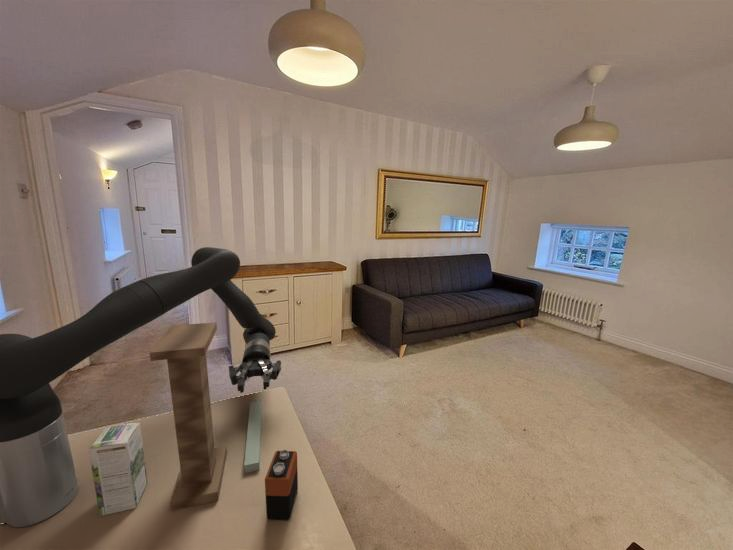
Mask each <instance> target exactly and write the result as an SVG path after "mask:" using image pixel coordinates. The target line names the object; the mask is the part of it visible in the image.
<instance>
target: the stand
mask: <svg viewBox="0 0 733 550" xmlns="http://www.w3.org/2000/svg"><path fill="white" fill-rule="evenodd" d="M217 330H218V327H217V322H203V323H202V322H201V323H190V324H189V323H188V324H187V323H186V324H176V325H175V324H174V325H171V326H170V327H169V329H168V330H167V332H166V333H165V334H164V335H163V336H162V337H161V339H160V340H159V341H158V342H157V343H156V344H155V346H153V348H152V349H151V351H149V358H150V360H149V361H150V362H154V361H155V362H156V361H165V360H166V362H167V364H166V365H167V369H168V370H167V371H168V372H167V373H168V378H169V385H170V387H169V388H170V394H171V395H170V396H171V403H172V410H173V419H174V426H175V435H176V443H177V444H176V445H177V452H178V459H179V467H180V468H179V469H180V472H179V475H178V477H177V481H176V484H175V486H174V488H173V489H174V490H173V493H172V496H171V498H170V502H169V506H170V507H169V508H170V511H171V512H173V511H174V512H175V511H177V510H182V509H186V508H191V507H195V506H199V505H203V504H208V503H212V502H217V501H219V499H220V493H221V487H222V482H223V476H224V472H225V467H226V461H227V456H228V446H227V445H220V446H216V447H215V439H214V437H215V435H214V429H213V428H214V427H213V416H212V407H211V404H212V403H211V395H210V394H211V393H210V384H209V383H210V382H209V374H208V363H207V351H208V350H209V347H210V345H211V344H212V341H213V338H214V337H215V334H216V332H217Z"/></svg>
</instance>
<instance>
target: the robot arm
mask: <svg viewBox="0 0 733 550" xmlns="http://www.w3.org/2000/svg"><path fill="white" fill-rule="evenodd" d="M190 262H191V263H190V264H191V267H188V268H184V269H180V270H175V271H170V272H165V273H159V274H156V275H151V276H148V277H145V278H142V279H140V280H136V281H134V282H132V283H129V284H127V285H125V286H123V287H120V288H119V289H116V290H115V291H113V292H111V293H109V294H108V295H106V296H105V297H103V298H102V300H100V301H99V302H97V303H96V305H94V306H93V307H92V308H91V309H90V310H89V311H87V312H86V313H85V314H84V315H82V316H80V317H79V318H77V319H76V320H73V321H72V322H70V323H68V324H65V325H63V326H61V327H58V328H56V329H54V330H51V331H49V332H46V333H43V334H40V335H39V336H36V337H31V336H28V335H25V334H20V333H0V523H8V524H7V525H9V526H10V525H11V526H10V527H12V528H24V527H29V526H33V525H35V524H38V523H41V522H43V521H46V520H47V519H48V518H50V517H52V516H54V515H56V514H57V513H58V512H60V511H61V510H63V509H64V508H65V507H66V506H68V505H69V504H70V503H71V502H72V500H74V498H75V497H76V495H77V494H78V490H79V485H78V478H77V472H76V469H75V464H74V459H73V455H72V450H71V449H72V448H71V444H70V441H69V440H70V439H69V435H68V430H67V426H66V422H65V418H64V417H65V416H64V412H63V409H62V404H61V400H60V398H59V397H58V395H57V394H56V392H55V391H54V389H53V388H52V386H51V384H50V383H51V382H53V381H55V380H56V379H58V378H59V377H60V376H62V375H64V374H65V373H67V372H68V371H70V370H71V369H73V368H74V367H76V366H77V365H78V364H80V363H81V362H83V361H85V360H86V359H88V358H89V357H90V356H92V355H94V354H95V353H97V352H98V351H100V350H101V349H102V350H103V349H104V348H105V347H107V346H109V345H111V344H112V343H114V342H117V341H118V340H119V339H120V340H121V338H124V337H125V336H127V335H128V334H130V333H132V332H134V331H136V330H139V328H141V327H143V326H145V325H147V324H149V323H151V322H153V321H154V320H156V319H159V317H162V316H163V315H164V314H166V313H168V312H169V311H171V310H173V309H175V308H176V307H178V306H181V305H183V304H184V303H186V302H188V301H189V300H191V299H192V298H194V297H196V296H198V295H200V294H202V293H204V292H206V291H209V290H210V289H211V291H213V292H214V293H215V295H216V296H217V297H218V298H219V299H220V300H221V301H222V302H223V303H224V304H225V306H226V307H227V309H228V310H229V311H230V312H231V314H232V315H233V317H234V318H235V320H236V321H237V323H238V324H239V326H240V327H241V328H243V329H245V330H244V331H243V333H242V336H243V337H242V338H243V340H244V342H245V343H246V344H245V345H246V346H245V349H244V351H243V355H242V361H241V363H240V364H239V366H236V367H235V366H234V365H229V366H228V376H229V379H230V382H231V385H232V386H235V385H236V387H237V388H236V389H237V391H238V392H239V393H241V394H242V393H244V392H245V387H246V385H245V384H246V383H247V382H248V381H250V379H251V378H253V377H260V378H261V380H263V384H262V386H263V387H262V388H263V391H264V390H265V391H266V390H267V388H269V387H270V384H271V383H270V382H271V380H273V381H276V380H278V377H279V375H280V373H281V370H282V361H281V360H276V362H272V360H271V355H272V354H271V348H270V346H271V344H270V343H271V342H270V341H271V340H273V339H274V338H275V336H276V332H277V330H276V327H275V326H274V324H273V323H272V322H271V321H270V320H269V319H267V318H266V317H265V316H264V315H262V314H261V313H260V311H259V310H258V308H257V307H256V305H255V303H254V301H253V300H252V299H251V298H250V297H249V296H248V295H247V294H246V293H245V292H244V291H243V290H242V289H240V288H239V287H238V286H237V285H236V284H235V283H234V282H233V281H232V279H233V278H234V277H236V276H237V274H238V273H239V270H240V268H241V260H240V257H239V256H238V255H237V254H236V253H235V252H234V251H232V250H229V249H227V248H218V247H213V246H212V247H210V246H206V247H200V248H199V249H197V250H195V252H194V253H193V255H192V257H191V260H190ZM270 370H271V371H270ZM239 372H240V373H239ZM237 374H238V375H237Z"/></svg>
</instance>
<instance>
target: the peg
mask: <svg viewBox="0 0 733 550" xmlns="http://www.w3.org/2000/svg"><path fill="white" fill-rule="evenodd" d="M262 413H263V403H262V400H257V401H251V402H249V413H248V423H247V424H248V425H247V432H246V433H247V434H246V443H245V444H246V445H245V453H244V462H243V465H244V466H243V468H244V474H247V473H251V472H256V471H260V470H261V469H260V467H261V443H262V441H261V439H262V419H263V418H262V416H263V414H262Z"/></svg>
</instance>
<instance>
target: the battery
mask: <svg viewBox="0 0 733 550" xmlns="http://www.w3.org/2000/svg"><path fill="white" fill-rule="evenodd" d="M298 479H299V477H298V452H297V450H296V451H295V450H288V449H282V450H276V451H275V452H274V454H273V457H272V459H271V462H270V464H269V467H268V469H267V472H266V474H265V477H264V489H265V490H264V491H265V507H266V508H265V509H266V511H265V512H266V519H267V520H269V521H270V520H271V521H289V520H290V519H291V517H292V513H293V508H294V505H295V502H296V498H297V493H298V489H299V482H298Z"/></svg>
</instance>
